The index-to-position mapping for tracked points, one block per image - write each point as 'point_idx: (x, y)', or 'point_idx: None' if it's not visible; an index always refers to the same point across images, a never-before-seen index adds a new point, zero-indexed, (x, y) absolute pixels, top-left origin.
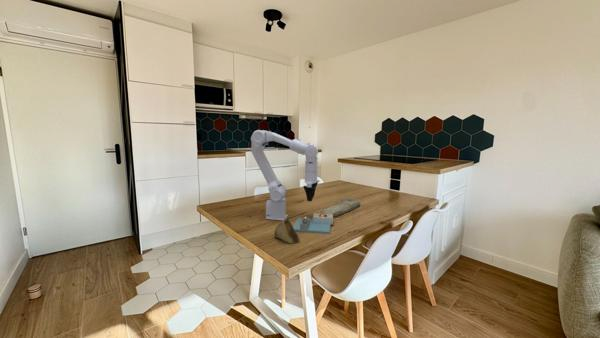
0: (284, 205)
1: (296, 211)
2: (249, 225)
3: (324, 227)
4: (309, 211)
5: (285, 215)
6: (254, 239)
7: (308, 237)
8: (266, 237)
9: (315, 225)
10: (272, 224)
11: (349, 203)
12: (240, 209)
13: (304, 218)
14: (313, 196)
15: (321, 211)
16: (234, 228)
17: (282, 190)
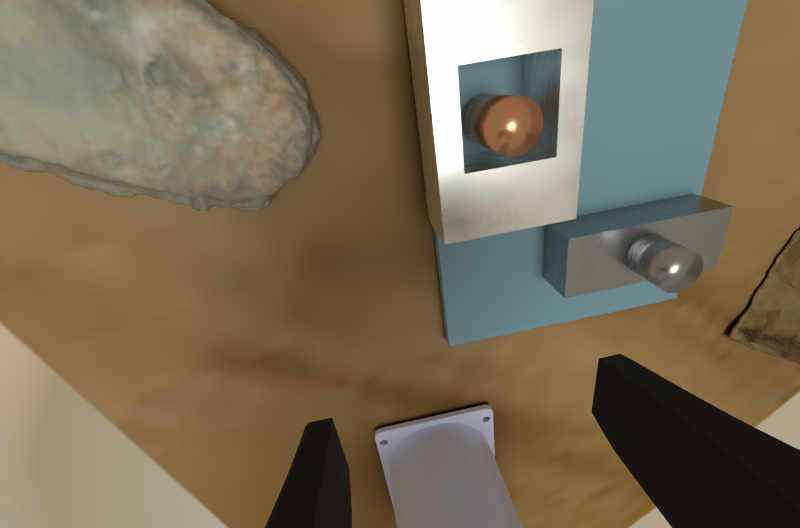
0: (486, 522)
1: (244, 419)
2: (591, 494)
3: (638, 51)
4: (175, 335)
5: (438, 434)
6: (765, 400)
7: (785, 147)
8: (748, 369)
9: (591, 157)
10: (563, 425)
11: None
12: None
13: (694, 269)
14: (330, 432)
15: (230, 202)
16: (633, 515)
17: None
